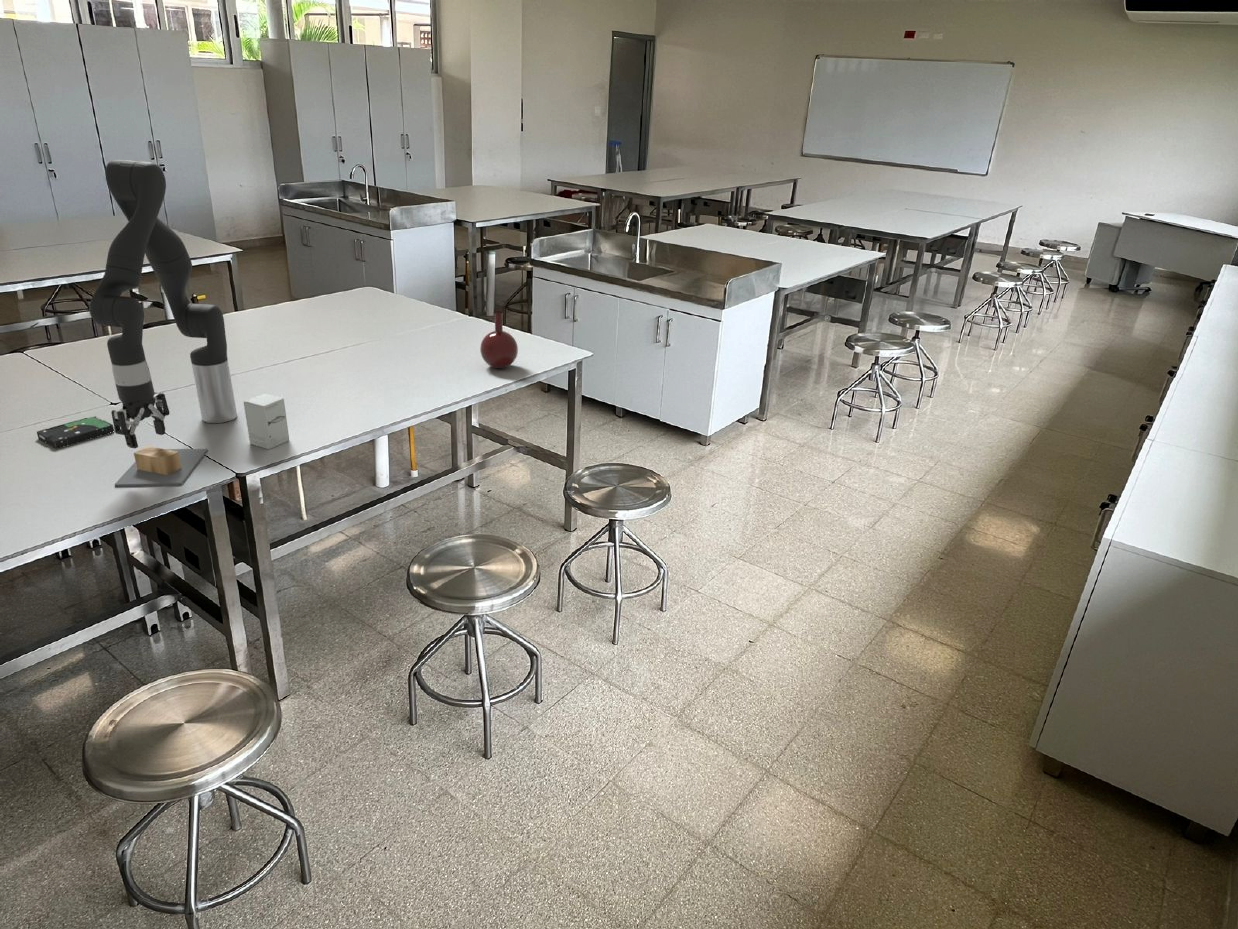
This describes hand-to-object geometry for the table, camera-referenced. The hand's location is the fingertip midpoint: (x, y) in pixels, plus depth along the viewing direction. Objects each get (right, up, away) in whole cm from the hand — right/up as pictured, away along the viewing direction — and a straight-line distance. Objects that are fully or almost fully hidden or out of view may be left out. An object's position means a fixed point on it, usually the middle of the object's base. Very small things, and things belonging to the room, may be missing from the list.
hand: (147, 440), depth 195 cm
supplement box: (+21, 0, +21) cm, 30 cm away
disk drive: (-30, +1, +19) cm, 36 cm away
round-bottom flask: (+74, +29, +87) cm, 118 cm away
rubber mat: (+1, -7, +4) cm, 8 cm away
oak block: (-3, -4, +3) cm, 6 cm away
